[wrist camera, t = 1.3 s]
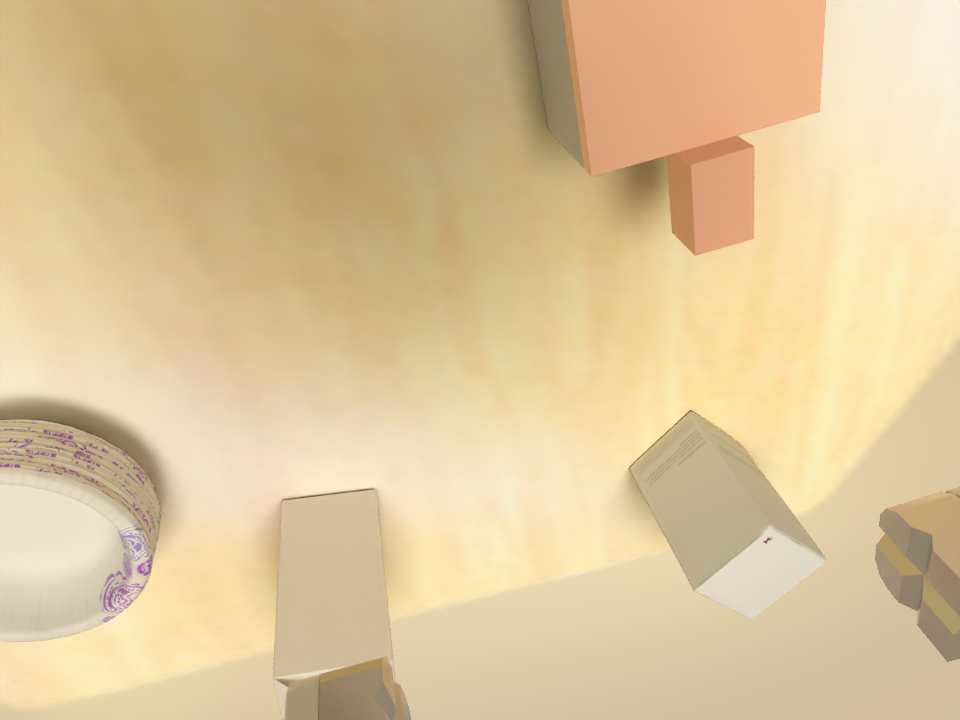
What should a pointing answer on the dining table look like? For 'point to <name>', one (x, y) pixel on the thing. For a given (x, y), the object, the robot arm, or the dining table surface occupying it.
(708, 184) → the lid
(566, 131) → the tub
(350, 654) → the milk carton
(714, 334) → the dining table surface
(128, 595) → the paper bowls
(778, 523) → the supplement box
